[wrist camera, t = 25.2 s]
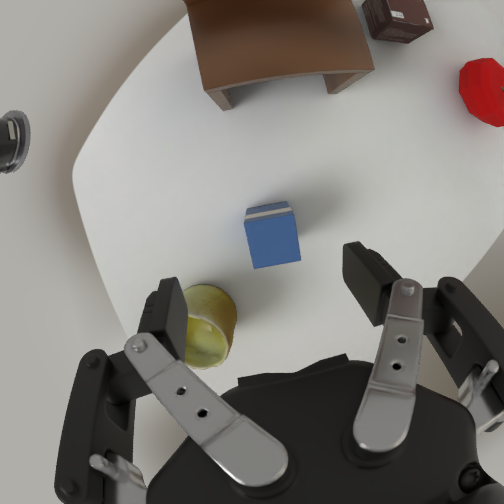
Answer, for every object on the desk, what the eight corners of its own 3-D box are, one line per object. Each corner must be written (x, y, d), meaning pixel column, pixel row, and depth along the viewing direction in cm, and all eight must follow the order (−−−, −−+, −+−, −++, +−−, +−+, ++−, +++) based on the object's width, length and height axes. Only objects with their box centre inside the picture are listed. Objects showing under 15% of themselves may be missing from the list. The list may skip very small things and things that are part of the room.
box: (397, 11, 23) (421, -8, 16) (408, 44, 25) (435, 29, 18) (360, 4, 23) (379, -19, 16) (370, 39, 25) (393, 19, 18)
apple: (484, 67, 24) (524, 60, 14) (497, 128, 27) (539, 131, 18) (441, 58, 25) (483, 44, 15) (457, 125, 28) (503, 126, 19)
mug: (258, 292, 36) (230, 352, 28) (237, 333, 42) (212, 385, 34) (175, 251, 36) (132, 299, 29) (169, 298, 43) (135, 343, 35)
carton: (293, 239, 35) (301, 261, 29) (254, 247, 36) (253, 269, 29) (287, 200, 33) (294, 213, 27) (246, 208, 34) (243, 222, 27)
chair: (337, 93, 28) (424, 41, 10) (222, 111, 30) (174, 61, 11) (318, 25, 25) (369, -67, 6) (207, 41, 26) (157, -51, 8)
